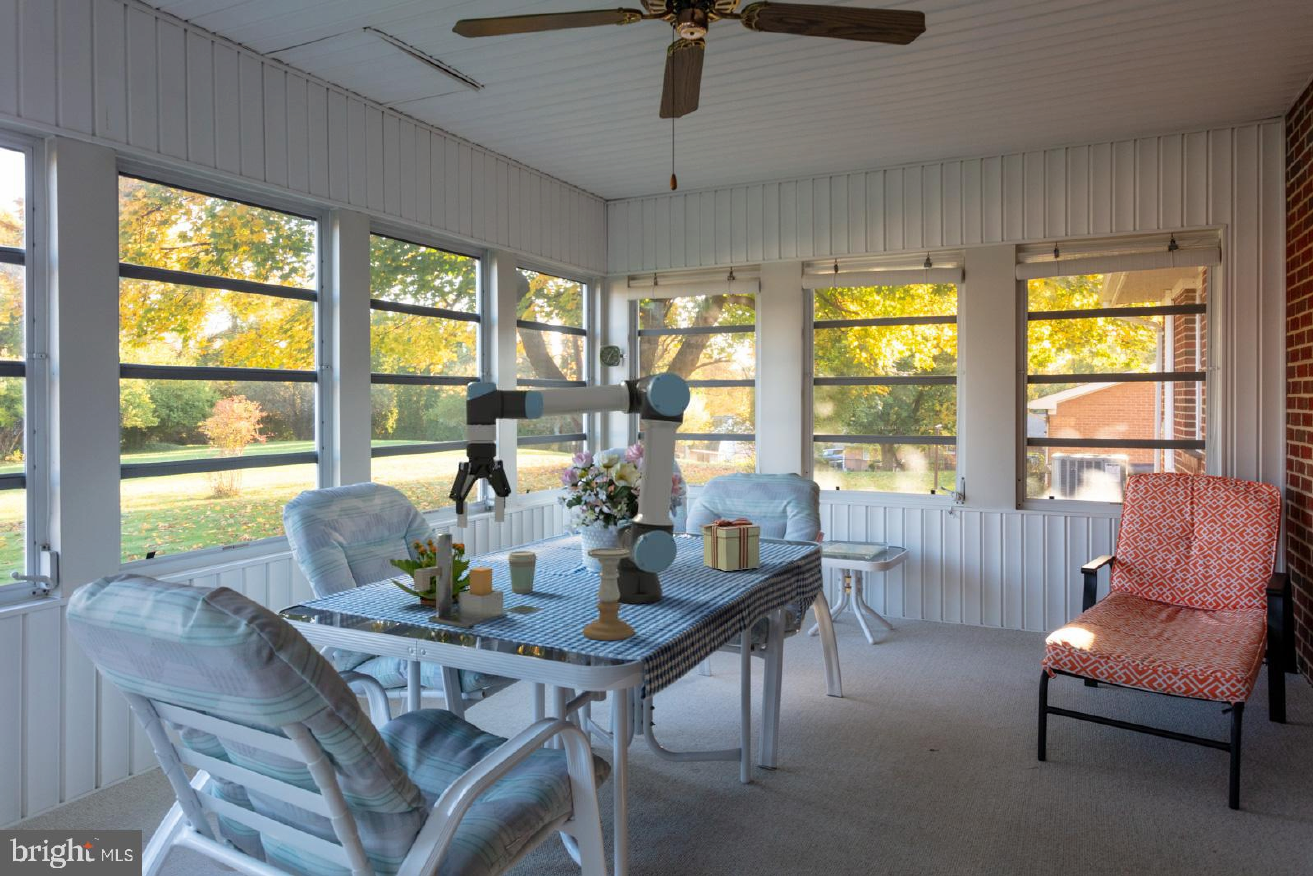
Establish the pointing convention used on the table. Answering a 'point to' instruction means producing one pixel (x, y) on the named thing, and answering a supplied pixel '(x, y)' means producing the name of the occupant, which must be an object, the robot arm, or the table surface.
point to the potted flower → (430, 561)
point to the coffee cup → (522, 571)
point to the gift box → (731, 544)
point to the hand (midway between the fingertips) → (481, 524)
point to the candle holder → (608, 598)
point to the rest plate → (523, 609)
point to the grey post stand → (469, 605)
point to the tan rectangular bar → (481, 581)
